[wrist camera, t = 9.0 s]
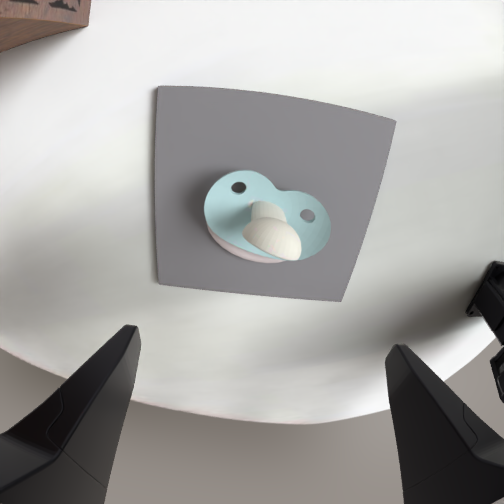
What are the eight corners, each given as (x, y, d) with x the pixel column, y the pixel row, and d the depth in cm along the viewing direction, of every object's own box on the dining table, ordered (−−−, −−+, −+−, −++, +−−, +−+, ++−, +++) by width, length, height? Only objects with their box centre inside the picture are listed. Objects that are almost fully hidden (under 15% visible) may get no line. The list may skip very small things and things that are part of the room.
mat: (392, 119, 16) (396, 121, 16) (339, 296, 24) (341, 302, 23) (161, 85, 15) (158, 86, 15) (160, 279, 23) (158, 284, 22)
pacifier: (291, 269, 22) (334, 198, 19) (300, 337, 17) (362, 256, 14) (192, 234, 20) (223, 152, 17) (171, 298, 15) (207, 195, 12)
